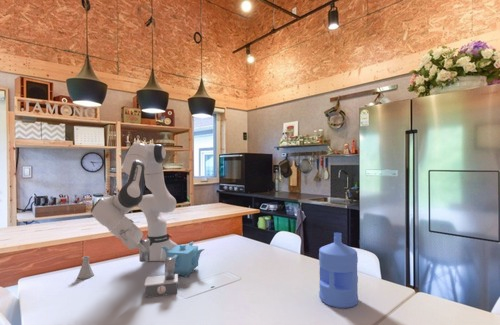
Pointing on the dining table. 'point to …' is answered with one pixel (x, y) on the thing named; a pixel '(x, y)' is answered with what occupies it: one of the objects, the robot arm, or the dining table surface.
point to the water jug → (338, 274)
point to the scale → (160, 286)
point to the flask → (85, 269)
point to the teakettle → (184, 258)
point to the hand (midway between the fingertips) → (146, 248)
